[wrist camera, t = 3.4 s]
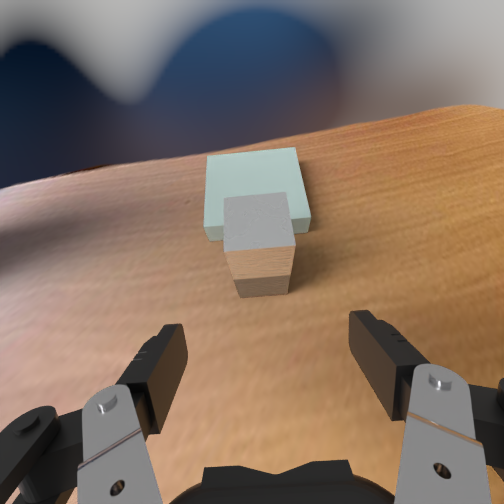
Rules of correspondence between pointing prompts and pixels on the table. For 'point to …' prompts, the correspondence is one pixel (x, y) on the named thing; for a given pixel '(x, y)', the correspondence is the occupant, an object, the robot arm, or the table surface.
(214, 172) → the stand
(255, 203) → the block
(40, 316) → the table surface
